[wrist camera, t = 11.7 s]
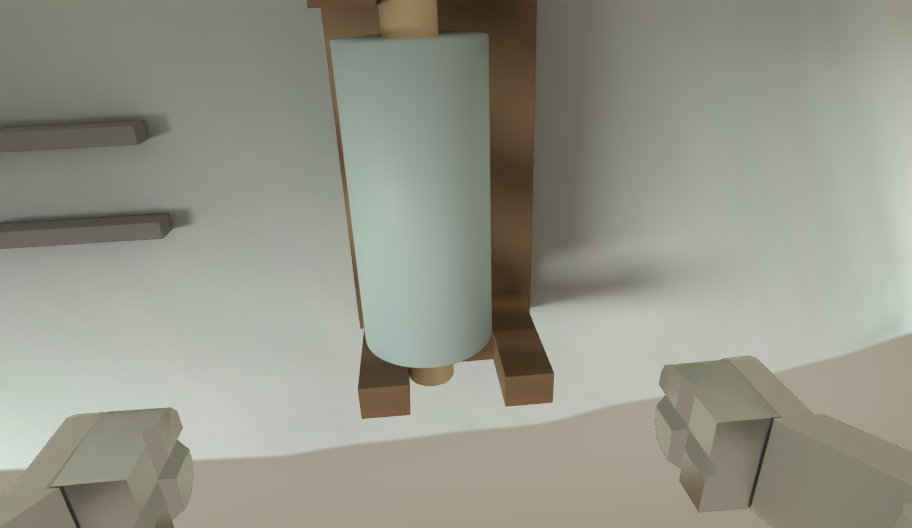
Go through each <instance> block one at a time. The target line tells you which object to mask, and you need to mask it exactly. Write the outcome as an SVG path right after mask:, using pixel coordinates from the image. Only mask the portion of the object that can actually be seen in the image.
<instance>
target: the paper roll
mask: <svg viewBox="0 0 912 528" xmlns="http://www.w3.org/2000/svg"><path fill="white" fill-rule="evenodd" d="M378 9H379V21H380V32H381V34H373V35H361V36H351V37H343V38H337V39H332V40H330V48H331V56H332V64H333V73H334V81H335V89H336V98H337V106H338V114H339V122H340V131H341V139H342V147H343V156H344V164H345V172H346V180H347V189H348V197H349V205H350V214H351V222H352V230H353V238H354V247H355V255H356V263H357V272H358V280H359V288H360V297H361V305H362V313H363V321H364V330H365V338H366V343H367V345H368V347H369V349H370V350H371V351H372V353H374V354H375V355H376V356H377V357H379V358H381V359H382V360H385V361H387V362H389V363H392V364H395V365H400V366H404V367H409V374H410V378H411V379H412V380H413V381H414V382H415V383H417V384H420V385H424V386H436V385H440V384H443V383H445V382H447V381H448V380H449V379H450V378H451V377H452V376H453V373H454V370H453V364H454V363H458V362H460V361H463V360H466V359H468V358H470V357H472V356H473V355H475V354H477V353H478V352H479V351H481V350H482V349H483V348H484V347H485V346H486V345H487V343H488V342H489V340H490V337H491V334H492V300H491V205H490V110H489V34H488V33H484V32H468V31H438V17H437V0H378Z"/></svg>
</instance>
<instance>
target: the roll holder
mask: <svg viewBox="0 0 912 528" xmlns="http://www.w3.org/2000/svg"><path fill="white" fill-rule="evenodd" d="M307 6H308V8H321V11H322V19H323V27H324V35H325V43H326V51H327V60H328V68H329V76H330V84H331V92H332V100H333V109H334V117H335V125H336V133H337V141H338V149H339V158H340V166H341V174H342V182H343V190H344V198H345V207H346V215H347V223H348V231H349V239H350V247H351V256H352V264H353V272H354V280H355V288H356V296H357V305H358V313H359V321H360V329H363V328H364V321H363V313H362V305H361V297H360V288H359V280H358V272H357V263H356V255H355V247H354V238H353V230H352V222H351V214H350V205H349V197H348V189H347V180H346V172H345V164H344V156H343V147H342V139H341V131H340V122H339V114H338V106H337V98H336V89H335V81H334V73H333V64H332V56H331V48H330V40H332V39H337V38H343V37H351V36H361V35H373V34H381V32H380V21H379V9H378V0H307ZM536 13H537V0H437V17H438V31H468V32H484V33H488V34H489V110H490V205H491V300H492V334H491V337H490V340H489V342H488V343H487V345H486V346H485V347H484V348H483V349H482V350H481V351H479V352H478V353H477V354H475V355H473V356H472V357H470V358H468V359H466V360H463V361H474V360H487V359H494V363H495V367H496V371H497V375H498V379H499V383H500V386H501V390H502V394H503V398H504V402H505V406H517V405H529V404H541V403H552V402H553V383H554V372H553V370H552V367H551V365H550V362H549V360H548V357H547V355H546V353H545V350H544V348H543V345H542V343H541V340H540V338H539V335H538V333H537V331H536V328H535V326H534V323H533V321H532V318H531V316H530V272H531V229H532V185H533V142H534V99H535V56H536ZM460 362H462V361H460ZM358 393H359V401H360V409H361V416H362V419H366V418H377V417H389V416H401V415H410V382H409V367H404V366H400V365H395V364H392V363H389V362H387V361H385V360H382V359H381V358H379V357H377V356H376V355H375V354H374V353H372V351H371V350H370V349H369V347H368V345H367V343H366V338H365V330H364V337H363V347H362V356H361V366H360V375H359V384H358Z"/></svg>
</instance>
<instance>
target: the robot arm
mask: <svg viewBox="0 0 912 528" xmlns="http://www.w3.org/2000/svg"><path fill="white" fill-rule="evenodd" d="M659 385H660V387H661V388H662V390H663V391H664V393H665V394H666V395H665V396H664V397H663V398H662V400H661V401H660V402H659V403H658V404H657V405H656V410H655V420H654V423H655V430H656V437H657V440H658V442H659V445H660V448H661V450H662V452H663V454H664V456H665V457H666V459H667V460H668V461H669V462H671V463H672V464H674V465H676V466H677V467H679V468H681V473H680V479H679V481H680V482H681V484H682V486H683V488H684V489H685V491H686V493H687V494H688V496H689V498H690V499H691V501H692V503H693V504H694V506H695V507H696V509H697V511H698V512H711V511H723V510H736V509H749V508H751V509H750V511H751V512H752V513H753V514H755V515H756V516H757V517H759V518H760V519H762V520H763V521H764V522H766V523H767V524H768V525H770V526H771V527H772V528H912V452H911V451H909V450H906V449H904V448H902V447H900V446H897V445H895V444H893V443H890V442H888V441H886V440H883V439H881V438H879V437H876V436H874V435H872V434H869V433H867V432H865V431H862V430H860V429H858V428H855V427H853V426H851V425H848V424H846V423H844V422H841V421H839V420H837V419H834V418H832V417H830V416H827V415H825V414H817V415H814V414H813V413H812V412H811V411H810V410H809V409H808V408H807V407H806V406H805V405H804V404H803V403H802V402H801V401H800V400H799V399H798V398H797V397H796V396H795V395H794V394H793V393H792V392H791V391H790V390H789V389H788V388H787V387H786V386H785V385H784V384H783V383H782V382H781V381H780V380H779V379H778V378H777V377H776V376H775V375H774V374H773V373H772V372H771V371H770V370H769V369H768V368H766V367H765V366H764V365H763V364H762V363H761V362H760V361H759V360H758V359H757V358H754V357H752V356H741V357H733V358H724V359H721V360H715V361H704V362H693V363H682V364H671V365H665V366H664V368H663V370H662V372H661V376H660V382H659ZM182 428H183V427H182V424H181V421H180V418H179V415H178V412H177V411H176V410H174V409H172V408H156V409H141V410H126V411H111V412H107V413H105V412H99V413H87V414H75V415H73V416H71V417H69V418H66V419H65V421H64V422H63V423H62V424H61V426H60V427H59V428H58V430H57V431H56V432H55V433H54V435H53V436H52V437H51V439H50V440H49V441H48V442H47V444H46V445H45V446H44V448H43V449H42V450H41V451H40V453H39V454H38V455H37V456H36V458H35V459H34V460H33V462H32V463H31V464H30V465H29V467H28V468H27V469H26V471H25V472H24V473H23V474H22V476H21V477H20V479H19V480H18V481H17V482H16V484H15V485H14V486H13V487H12V489H11V490H10V491H9V492H6V493H0V528H174V525H173V523H172V520H173V519H174V518H175V517H177V516H178V515H179V514H180V513H181V512H182V511H184V510H185V509H186V506H187V503H188V501H189V498H190V495H191V491H192V484H193V477H194V473H193V461H192V457H191V454H190V450H189V449H188V448H187V447H186V446H184V445H183V444H182V443H181V442H179V441H178V440H177V439H178V437H179V435H180V432H181V430H182Z"/></svg>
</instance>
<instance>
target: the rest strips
mask: <svg viewBox="0 0 912 528" xmlns="http://www.w3.org/2000/svg"><path fill="white" fill-rule="evenodd" d="M147 139H148V135H147V131H146V127H145V123H144V121H127V122H108V123H88V124H68V125H48V126H28V127H9V128H0V152H10V151H29V150H48V149H66V148H85V147H104V146H123V145H138V144H140V143H141V142H143V141H145V140H147ZM171 230H172V226H171V222H170V219H169V215H168V214H152V215H136V216H120V217H103V218H87V219H70V220H54V221H38V222H21V223H5V224H0V249H6V248H22V247H37V246H53V245H69V244H84V243H100V242H116V241H132V240H147V239H163V238H164V237H165V236H166V235H167V234H168V233H169V232H170V231H171Z"/></svg>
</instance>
